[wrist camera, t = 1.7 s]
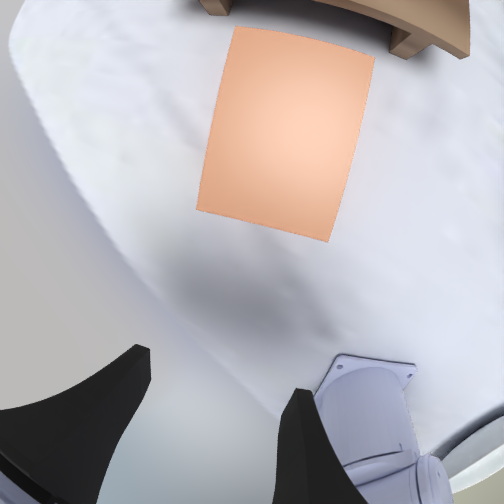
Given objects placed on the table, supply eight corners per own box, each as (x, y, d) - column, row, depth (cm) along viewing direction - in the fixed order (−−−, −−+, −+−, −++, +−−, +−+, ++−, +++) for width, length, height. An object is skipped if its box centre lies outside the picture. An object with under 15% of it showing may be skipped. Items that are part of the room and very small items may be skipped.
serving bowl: (400, 466, 28) (405, 502, 22) (511, 380, 20) (531, 417, 14) (457, 468, 30) (463, 494, 24) (539, 401, 22) (552, 426, 15)
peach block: (322, 225, 17) (328, 242, 14) (211, 198, 17) (196, 209, 14) (361, 70, 13) (374, 57, 10) (244, 44, 13) (235, 26, 11)
